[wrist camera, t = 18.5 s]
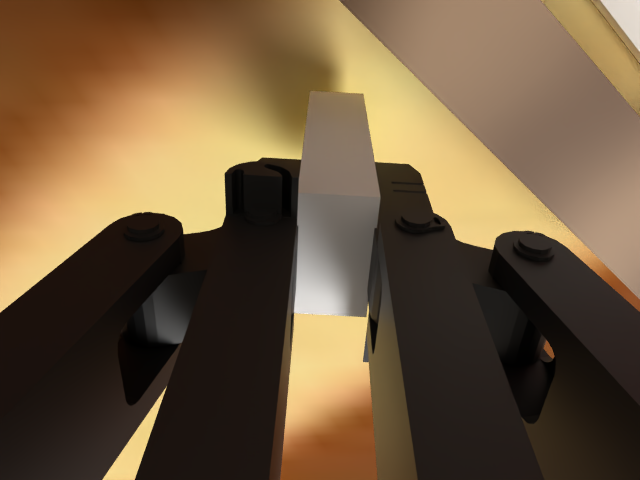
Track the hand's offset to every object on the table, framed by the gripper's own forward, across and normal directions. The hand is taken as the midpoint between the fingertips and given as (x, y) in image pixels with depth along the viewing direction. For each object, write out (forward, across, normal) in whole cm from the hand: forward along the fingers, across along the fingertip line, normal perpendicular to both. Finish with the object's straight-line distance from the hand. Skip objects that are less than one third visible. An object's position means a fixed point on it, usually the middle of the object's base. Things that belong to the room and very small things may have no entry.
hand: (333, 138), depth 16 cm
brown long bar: (+1, +4, +3) cm, 5 cm away
